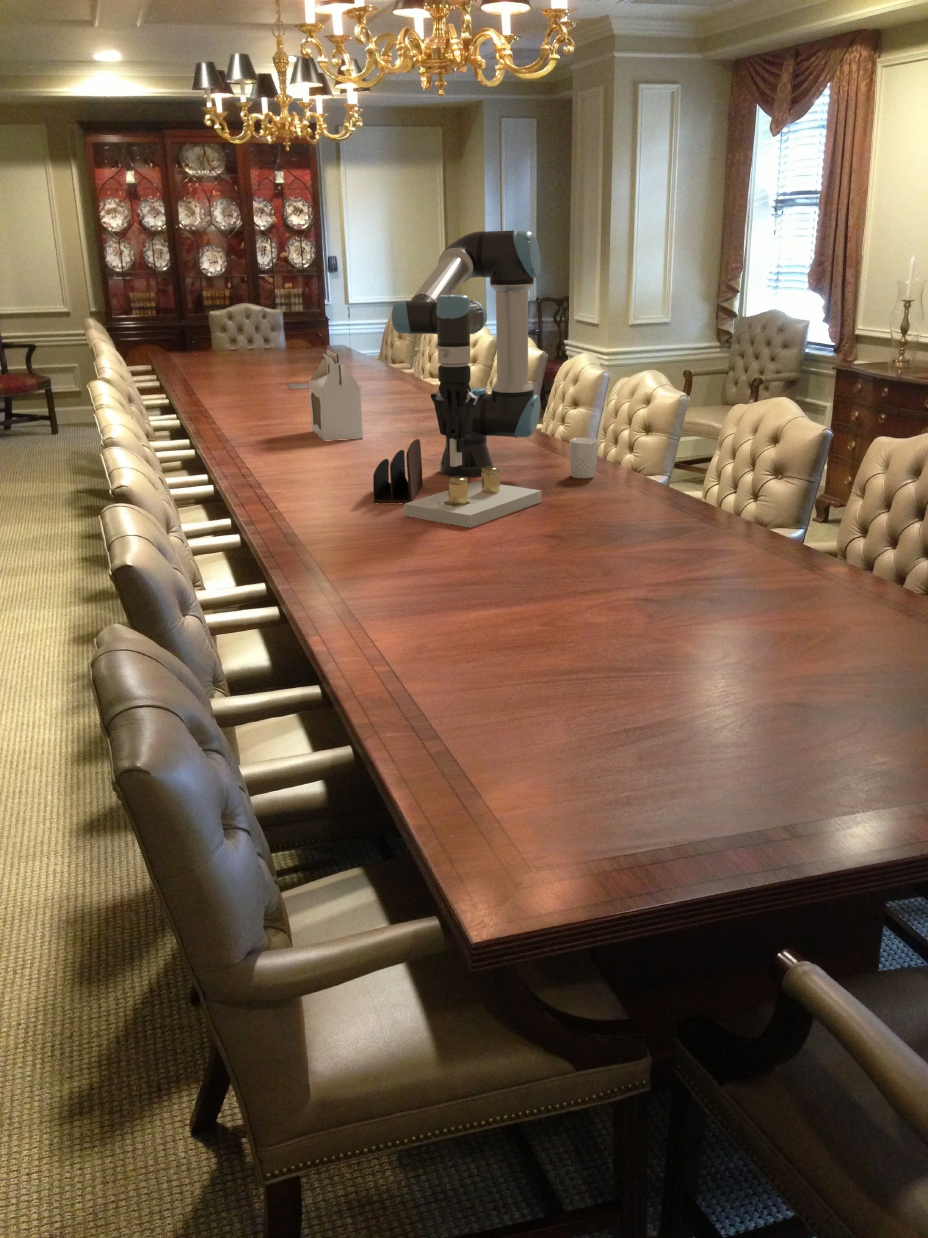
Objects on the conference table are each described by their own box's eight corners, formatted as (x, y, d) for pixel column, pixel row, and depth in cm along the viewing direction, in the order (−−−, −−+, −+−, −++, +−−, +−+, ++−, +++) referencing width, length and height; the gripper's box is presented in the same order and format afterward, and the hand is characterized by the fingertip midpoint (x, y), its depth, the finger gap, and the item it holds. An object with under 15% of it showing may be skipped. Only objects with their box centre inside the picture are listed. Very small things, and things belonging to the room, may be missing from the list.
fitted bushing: (478, 503, 268) (477, 468, 265) (488, 500, 271) (488, 465, 268) (492, 506, 265) (492, 470, 262) (503, 502, 268) (503, 467, 265)
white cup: (596, 479, 292) (597, 443, 288) (567, 478, 293) (568, 442, 290) (598, 473, 299) (599, 437, 296) (570, 472, 301) (571, 437, 297)
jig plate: (404, 515, 257) (404, 503, 256) (477, 492, 280) (477, 480, 279) (470, 527, 246) (470, 515, 245) (541, 501, 268) (541, 490, 267)
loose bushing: (445, 515, 257) (444, 478, 254) (456, 511, 261) (456, 475, 258) (460, 518, 254) (459, 481, 251) (471, 514, 258) (471, 477, 255)
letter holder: (423, 487, 287) (421, 435, 282) (411, 504, 269) (410, 449, 264) (386, 486, 288) (384, 435, 283) (373, 504, 270) (370, 449, 265)
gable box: (312, 431, 371) (306, 349, 362) (348, 428, 375) (344, 347, 365) (324, 442, 351) (319, 355, 342) (363, 439, 355) (359, 353, 346)
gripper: (422, 364, 246) (425, 465, 254) (466, 367, 239) (468, 471, 247) (442, 361, 252) (444, 459, 260) (486, 364, 244) (487, 465, 252)
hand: (456, 465), depth 253 cm, fingers closed
